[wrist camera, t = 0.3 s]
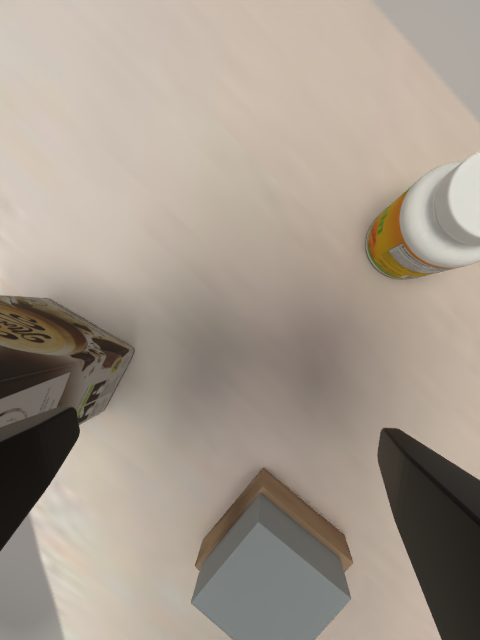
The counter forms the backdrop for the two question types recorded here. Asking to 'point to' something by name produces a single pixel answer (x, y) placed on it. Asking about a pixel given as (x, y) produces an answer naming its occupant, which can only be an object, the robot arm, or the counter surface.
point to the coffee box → (54, 360)
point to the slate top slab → (270, 579)
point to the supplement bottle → (430, 224)
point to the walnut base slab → (288, 505)
